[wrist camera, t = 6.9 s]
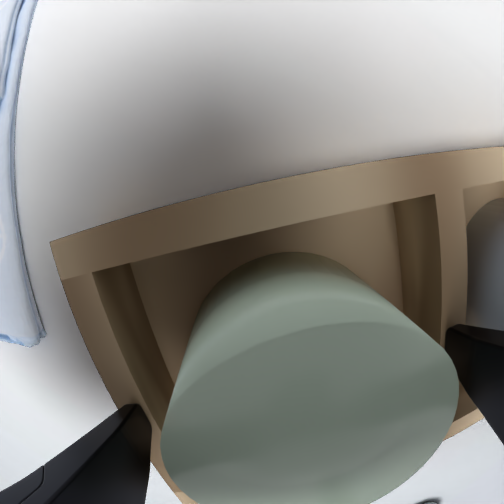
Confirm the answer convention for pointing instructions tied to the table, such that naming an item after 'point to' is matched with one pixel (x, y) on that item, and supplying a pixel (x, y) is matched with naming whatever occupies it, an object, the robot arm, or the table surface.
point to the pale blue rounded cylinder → (486, 267)
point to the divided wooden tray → (270, 242)
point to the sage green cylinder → (304, 390)
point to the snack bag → (3, 187)
